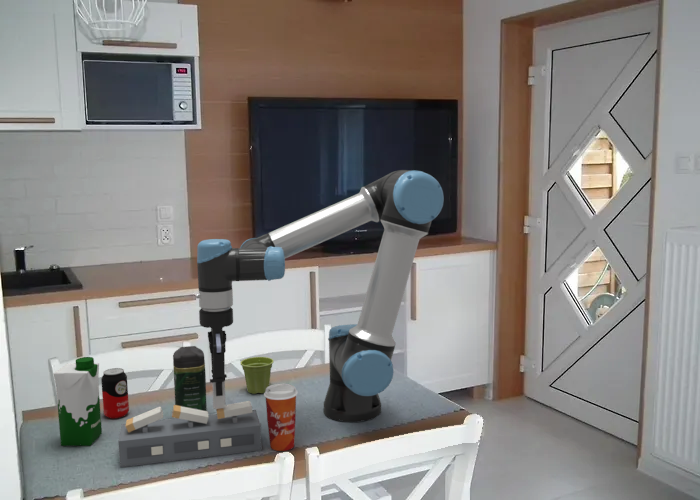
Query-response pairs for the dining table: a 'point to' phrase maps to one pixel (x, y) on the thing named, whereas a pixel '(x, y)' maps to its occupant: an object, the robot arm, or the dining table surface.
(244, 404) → the rocker
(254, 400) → the dining table surface
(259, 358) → the plant pot
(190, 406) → the coffee jar
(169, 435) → the console
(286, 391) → the paper cup
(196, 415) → the rocker
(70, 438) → the milk carton
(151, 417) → the rocker
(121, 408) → the beverage can
